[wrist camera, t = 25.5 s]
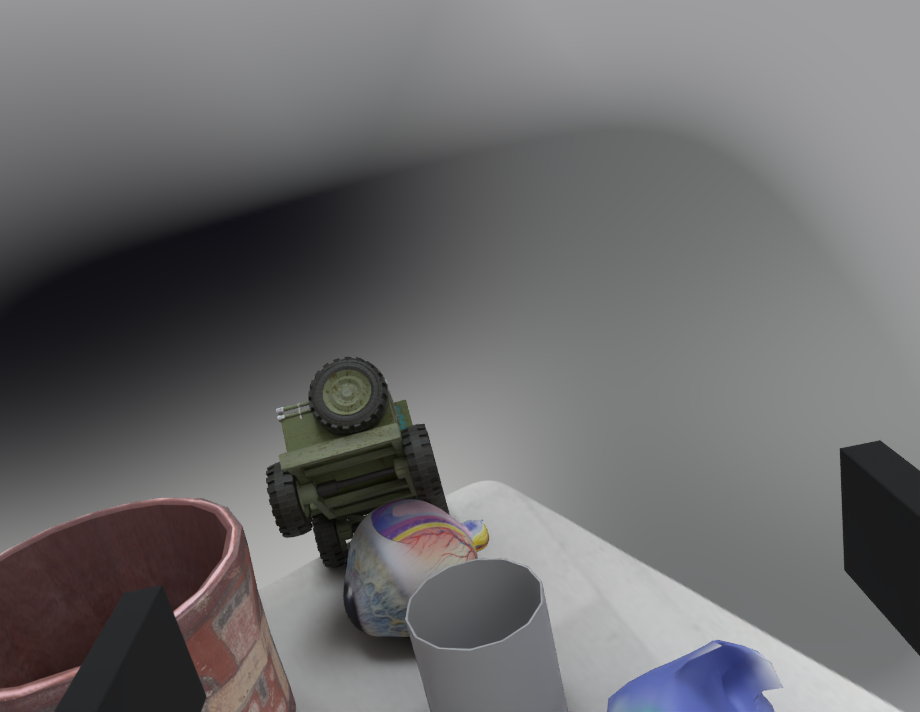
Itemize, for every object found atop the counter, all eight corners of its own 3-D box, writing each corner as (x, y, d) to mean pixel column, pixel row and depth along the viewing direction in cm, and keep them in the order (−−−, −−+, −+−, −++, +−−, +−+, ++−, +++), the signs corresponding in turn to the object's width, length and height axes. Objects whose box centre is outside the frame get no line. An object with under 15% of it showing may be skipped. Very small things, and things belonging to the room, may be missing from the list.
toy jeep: (456, 539, 74) (427, 433, 78) (438, 471, 51) (399, 327, 55) (332, 574, 73) (311, 466, 77) (257, 522, 50) (232, 372, 54)
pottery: (-2, 1045, 37) (-176, 768, 31) (54, 774, 53) (-55, 556, 47) (348, 877, 42) (253, 607, 36) (303, 674, 58) (232, 464, 52)
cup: (594, 746, 46) (568, 611, 43) (470, 809, 44) (434, 672, 41) (532, 662, 54) (506, 542, 51) (423, 712, 52) (389, 590, 48)
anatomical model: (370, 608, 66) (306, 527, 62) (494, 531, 66) (438, 446, 62) (387, 692, 57) (313, 604, 53) (529, 604, 57) (467, 509, 53)
